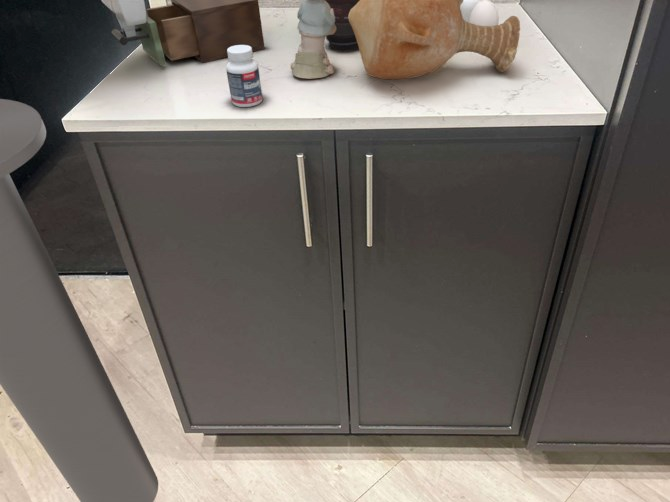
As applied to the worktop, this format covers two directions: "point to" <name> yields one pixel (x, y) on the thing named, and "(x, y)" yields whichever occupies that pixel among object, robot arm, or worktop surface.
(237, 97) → the pill bottle
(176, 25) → the drawer
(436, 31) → the jug
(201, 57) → the cabinet
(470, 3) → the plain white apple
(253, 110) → the worktop surface
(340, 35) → the camera lens
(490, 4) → the egg
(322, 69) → the figurine
